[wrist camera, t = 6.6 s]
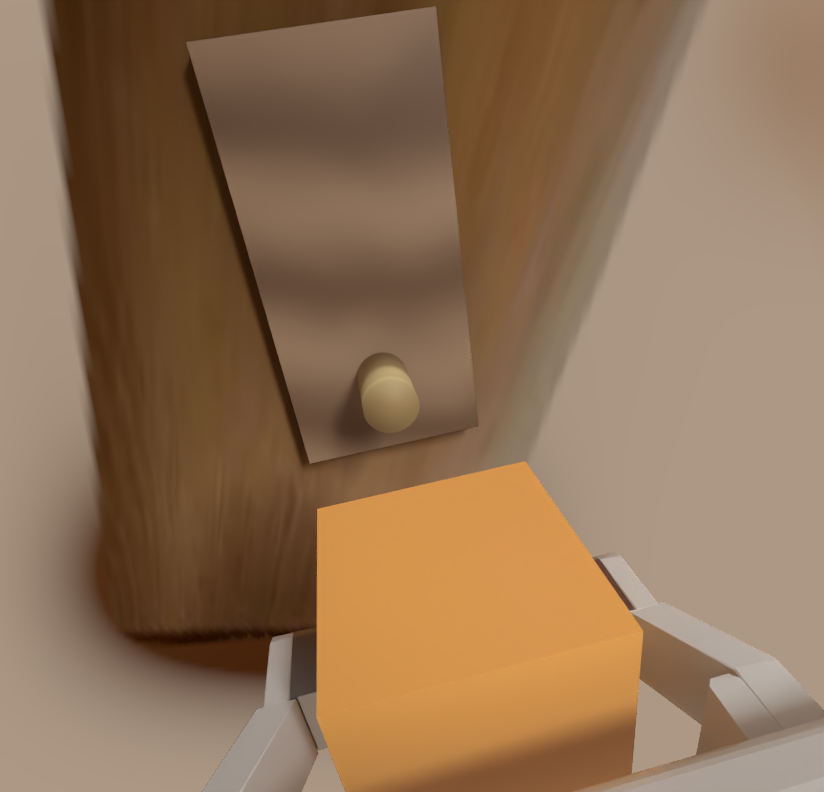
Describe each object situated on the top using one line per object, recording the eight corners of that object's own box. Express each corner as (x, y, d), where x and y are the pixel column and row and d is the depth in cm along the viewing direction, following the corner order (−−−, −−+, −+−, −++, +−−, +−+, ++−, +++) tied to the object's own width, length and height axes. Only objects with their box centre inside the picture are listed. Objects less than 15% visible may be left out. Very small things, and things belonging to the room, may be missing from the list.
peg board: (193, 48, 18) (157, 17, 14) (429, 14, 19) (460, -26, 15) (310, 451, 26) (308, 506, 22) (472, 415, 27) (500, 462, 23)
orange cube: (317, 509, 12) (316, 717, 7) (525, 461, 12) (643, 631, 8) (360, 651, 14) (379, 877, 10) (534, 607, 15) (629, 803, 10)
